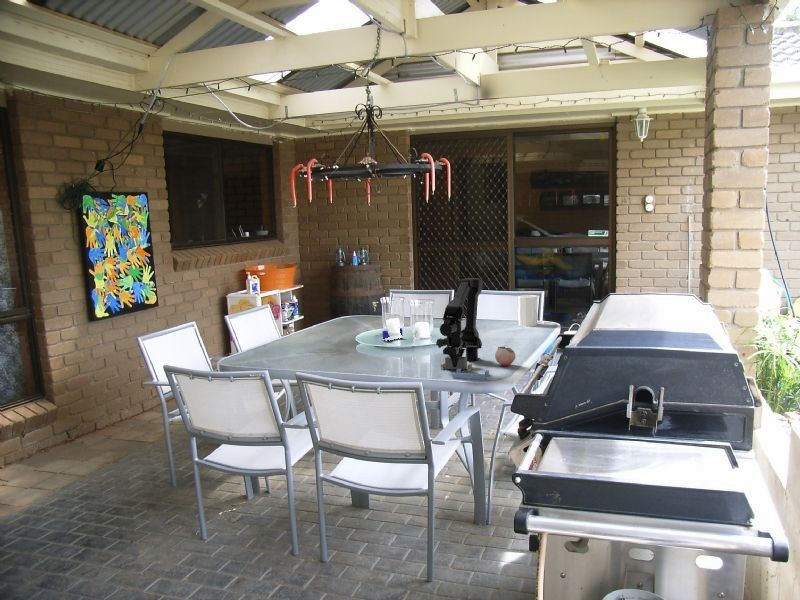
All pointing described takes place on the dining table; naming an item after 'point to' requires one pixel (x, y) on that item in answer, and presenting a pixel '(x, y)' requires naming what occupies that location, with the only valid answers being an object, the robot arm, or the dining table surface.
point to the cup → (527, 310)
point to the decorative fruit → (505, 356)
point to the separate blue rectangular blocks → (469, 375)
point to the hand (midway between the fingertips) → (456, 365)
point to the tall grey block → (460, 364)
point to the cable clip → (386, 335)
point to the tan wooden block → (467, 366)
